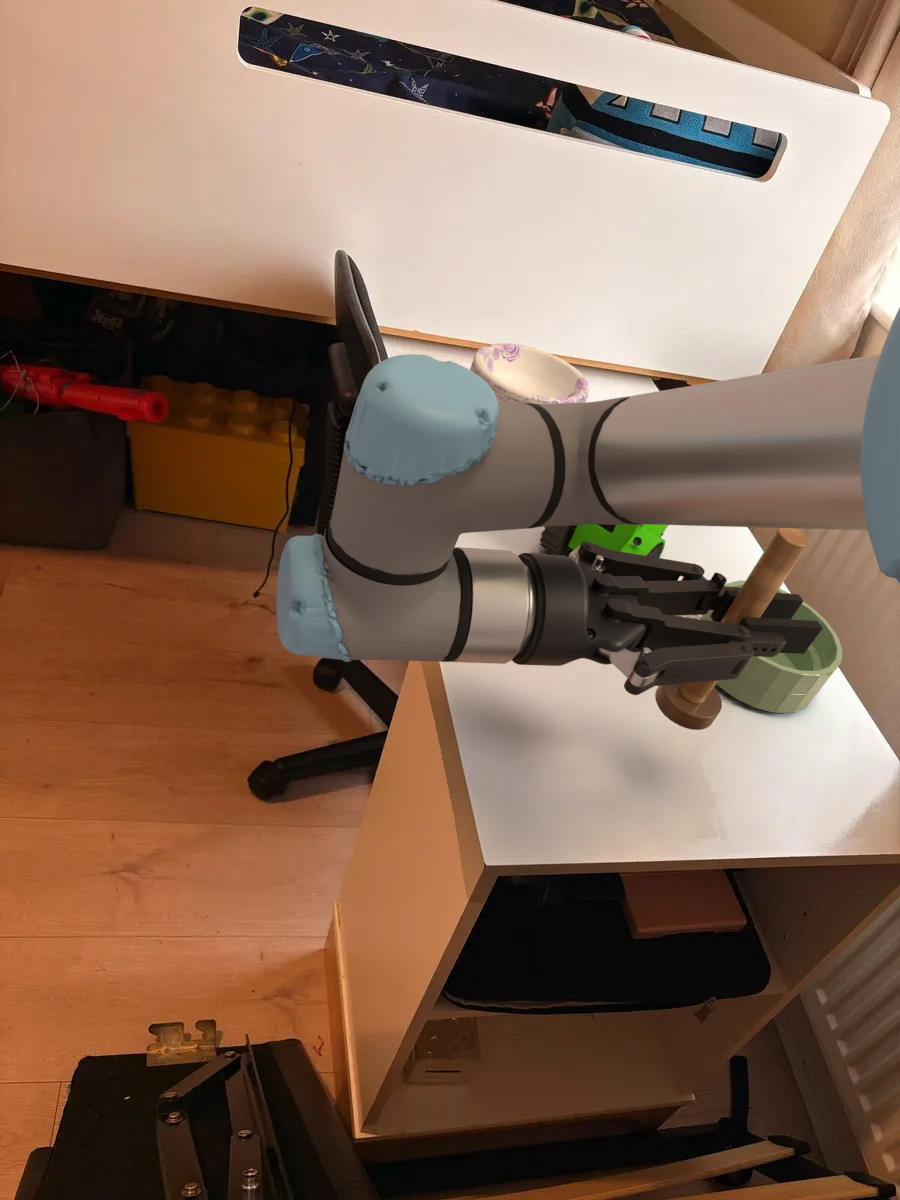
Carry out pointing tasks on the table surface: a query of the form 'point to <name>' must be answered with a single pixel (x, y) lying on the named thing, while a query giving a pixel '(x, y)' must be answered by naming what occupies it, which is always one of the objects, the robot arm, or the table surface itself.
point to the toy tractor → (605, 538)
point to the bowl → (787, 669)
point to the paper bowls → (529, 375)
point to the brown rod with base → (700, 699)
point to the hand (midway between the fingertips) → (800, 623)
